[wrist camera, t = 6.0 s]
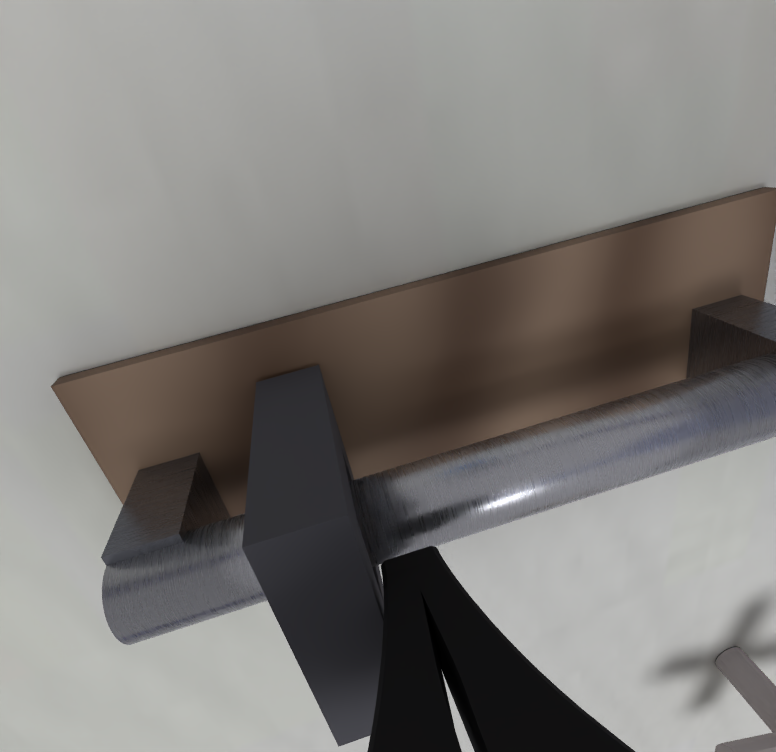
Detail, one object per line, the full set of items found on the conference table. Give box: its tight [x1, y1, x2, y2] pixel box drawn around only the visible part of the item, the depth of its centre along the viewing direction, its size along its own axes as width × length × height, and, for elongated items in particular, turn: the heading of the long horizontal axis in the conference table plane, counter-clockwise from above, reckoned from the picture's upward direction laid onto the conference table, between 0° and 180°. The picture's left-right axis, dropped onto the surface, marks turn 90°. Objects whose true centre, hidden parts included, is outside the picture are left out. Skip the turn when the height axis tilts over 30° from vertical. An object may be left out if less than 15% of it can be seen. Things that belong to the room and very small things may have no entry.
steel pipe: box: [101, 295, 776, 645], centre depth 15 cm, size 22×3×5 cm, turn 102°
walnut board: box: [51, 187, 776, 517], centre depth 18 cm, size 24×10×1 cm, turn 102°
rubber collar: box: [242, 365, 384, 746], centre depth 14 cm, size 2×7×7 cm, turn 12°
